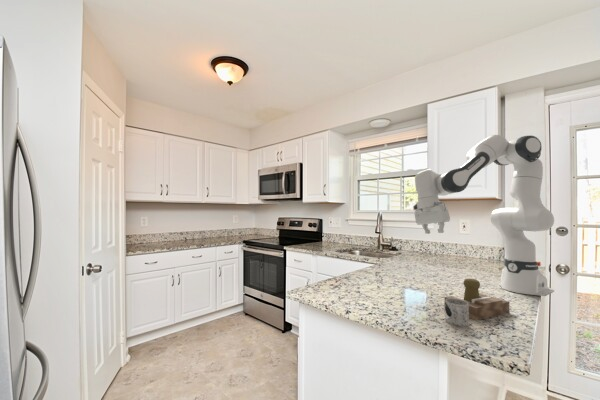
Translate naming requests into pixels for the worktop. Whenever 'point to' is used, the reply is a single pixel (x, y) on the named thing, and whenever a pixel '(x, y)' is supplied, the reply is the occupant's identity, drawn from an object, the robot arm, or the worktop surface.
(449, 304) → the mug
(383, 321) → the worktop surface
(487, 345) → the worktop surface
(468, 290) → the cork
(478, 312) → the walnut dock
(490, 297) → the latch tongue
